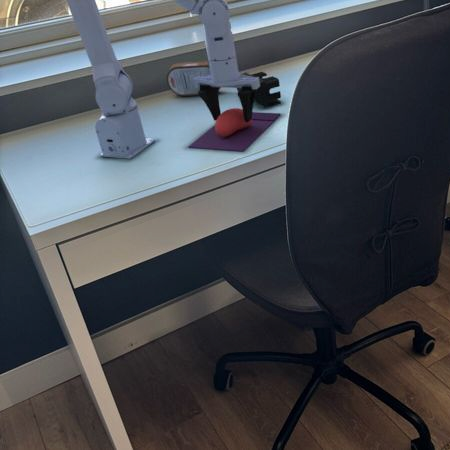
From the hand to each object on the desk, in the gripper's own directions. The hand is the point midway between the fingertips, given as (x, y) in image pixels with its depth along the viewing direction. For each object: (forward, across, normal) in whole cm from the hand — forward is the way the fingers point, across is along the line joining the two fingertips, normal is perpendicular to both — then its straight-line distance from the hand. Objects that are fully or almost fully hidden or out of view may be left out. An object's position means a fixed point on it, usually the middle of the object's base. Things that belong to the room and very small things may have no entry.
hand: (232, 119), depth 123 cm
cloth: (+3, 0, -1) cm, 3 cm away
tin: (+3, +22, -22) cm, 31 cm away
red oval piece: (+3, 0, 0) cm, 3 cm away
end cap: (+3, +2, -18) cm, 18 cm away
